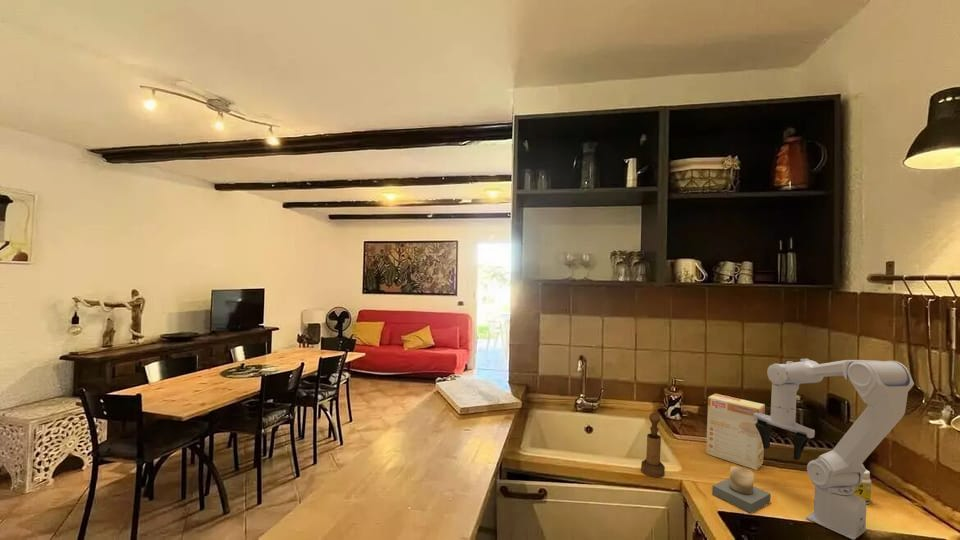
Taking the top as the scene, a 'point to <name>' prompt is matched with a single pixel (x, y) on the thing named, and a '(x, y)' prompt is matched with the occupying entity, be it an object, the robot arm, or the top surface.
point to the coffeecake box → (734, 430)
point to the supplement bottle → (864, 487)
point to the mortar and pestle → (653, 451)
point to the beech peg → (741, 480)
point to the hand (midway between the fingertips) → (781, 453)
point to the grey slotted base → (741, 496)
